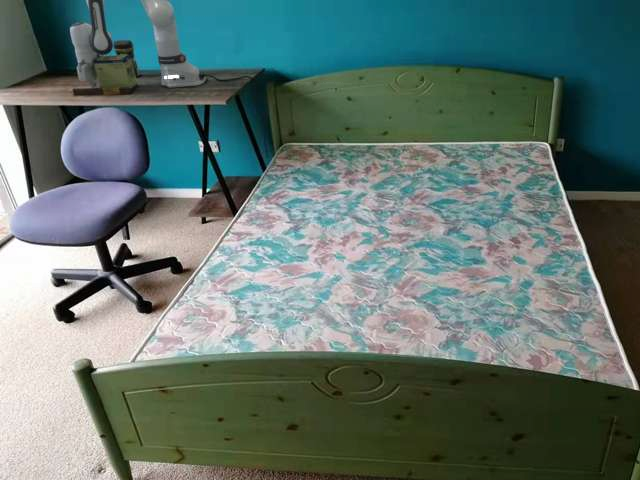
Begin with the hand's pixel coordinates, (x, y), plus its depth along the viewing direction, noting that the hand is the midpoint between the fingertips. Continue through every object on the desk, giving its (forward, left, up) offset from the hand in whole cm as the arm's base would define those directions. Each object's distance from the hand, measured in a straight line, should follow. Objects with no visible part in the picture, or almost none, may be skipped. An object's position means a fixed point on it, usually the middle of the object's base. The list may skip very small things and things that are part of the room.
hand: (94, 86), depth 301 cm
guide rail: (-7, +7, -2) cm, 10 cm away
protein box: (-12, -2, -2) cm, 12 cm away
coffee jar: (-9, -26, -2) cm, 28 cm away
